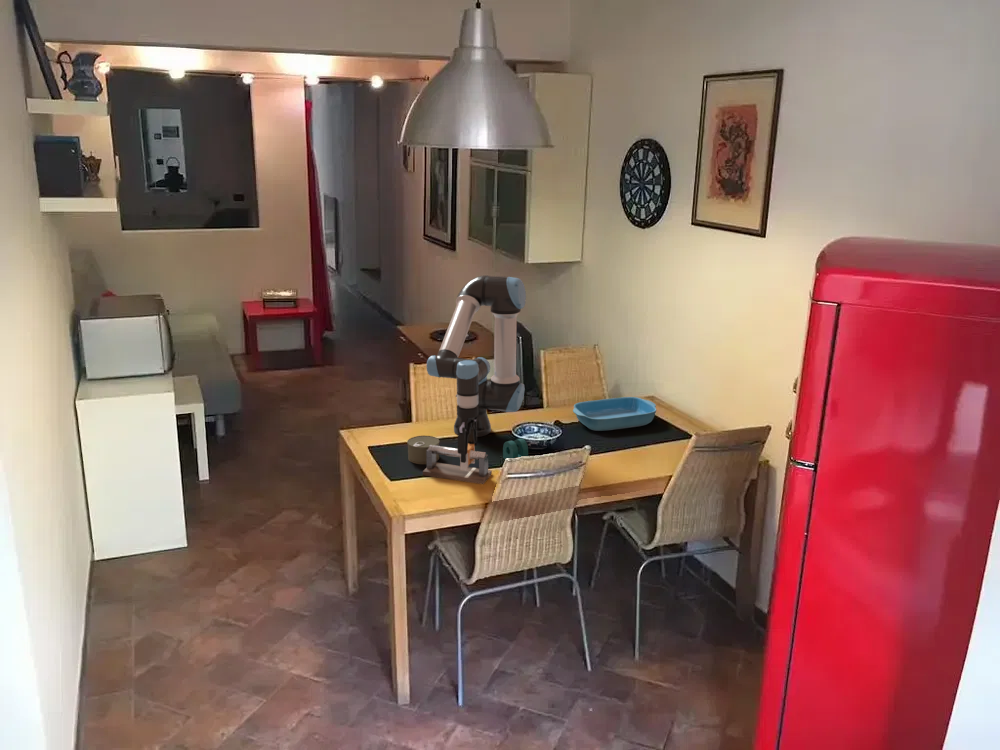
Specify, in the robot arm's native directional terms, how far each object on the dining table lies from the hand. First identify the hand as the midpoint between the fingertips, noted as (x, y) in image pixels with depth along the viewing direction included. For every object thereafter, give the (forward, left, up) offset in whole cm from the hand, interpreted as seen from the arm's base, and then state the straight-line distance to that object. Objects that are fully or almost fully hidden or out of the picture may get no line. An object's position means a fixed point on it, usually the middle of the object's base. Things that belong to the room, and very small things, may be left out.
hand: (467, 466), depth 295 cm
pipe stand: (0, -4, -4) cm, 6 cm away
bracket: (-17, +16, -4) cm, 24 cm away
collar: (0, 0, +2) cm, 2 cm away
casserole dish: (-74, +39, -4) cm, 83 cm away
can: (-10, -21, -4) cm, 24 cm away
